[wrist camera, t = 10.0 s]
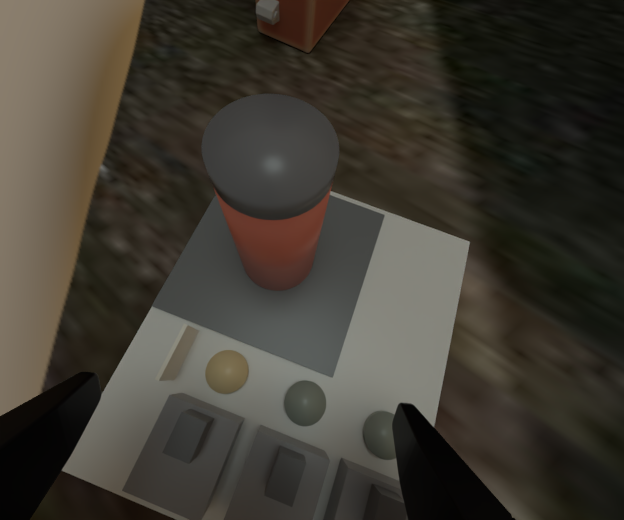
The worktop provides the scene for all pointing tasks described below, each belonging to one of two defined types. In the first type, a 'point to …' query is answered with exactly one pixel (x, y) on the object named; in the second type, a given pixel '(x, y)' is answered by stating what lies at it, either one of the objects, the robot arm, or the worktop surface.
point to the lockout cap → (272, 182)
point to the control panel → (297, 20)
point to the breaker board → (280, 376)
